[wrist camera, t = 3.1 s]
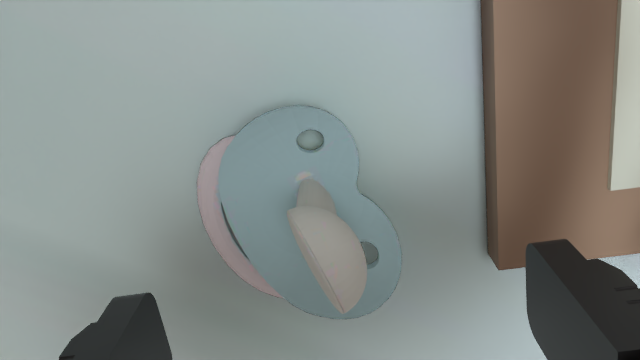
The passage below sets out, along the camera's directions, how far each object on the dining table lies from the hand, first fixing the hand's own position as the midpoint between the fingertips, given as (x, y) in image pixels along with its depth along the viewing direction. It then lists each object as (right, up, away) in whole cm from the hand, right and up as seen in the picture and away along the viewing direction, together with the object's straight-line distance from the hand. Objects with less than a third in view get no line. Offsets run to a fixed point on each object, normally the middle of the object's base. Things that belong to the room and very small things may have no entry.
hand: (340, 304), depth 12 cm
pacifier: (-1, +2, +7) cm, 8 cm away
